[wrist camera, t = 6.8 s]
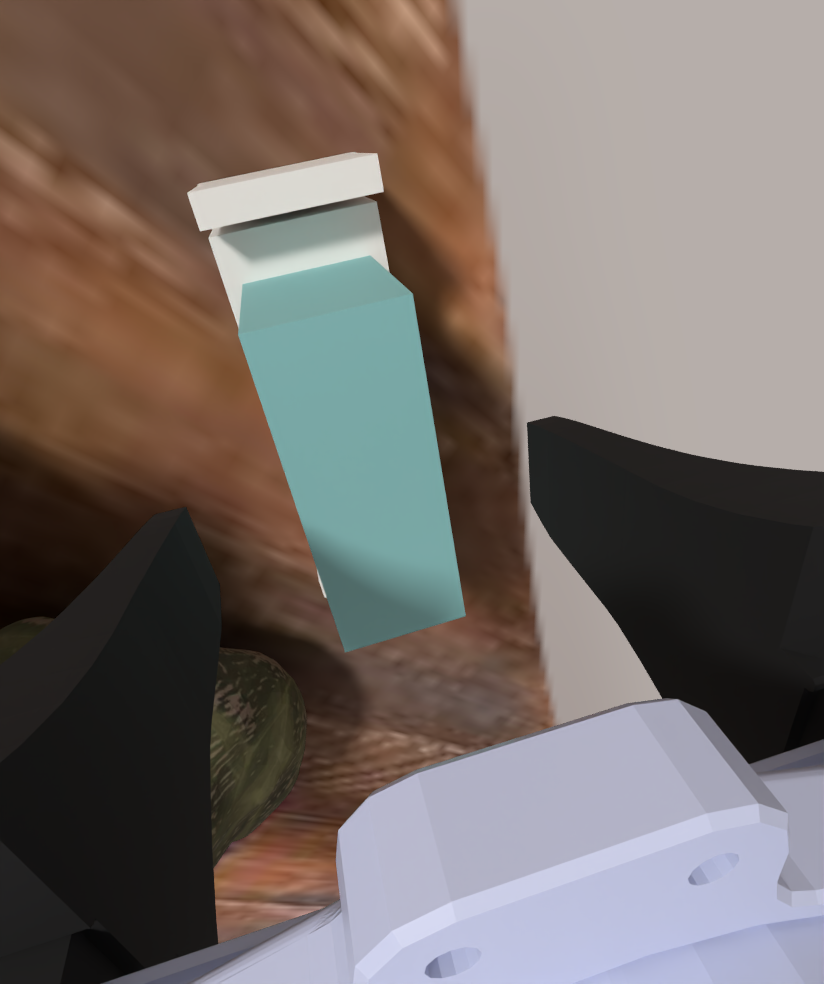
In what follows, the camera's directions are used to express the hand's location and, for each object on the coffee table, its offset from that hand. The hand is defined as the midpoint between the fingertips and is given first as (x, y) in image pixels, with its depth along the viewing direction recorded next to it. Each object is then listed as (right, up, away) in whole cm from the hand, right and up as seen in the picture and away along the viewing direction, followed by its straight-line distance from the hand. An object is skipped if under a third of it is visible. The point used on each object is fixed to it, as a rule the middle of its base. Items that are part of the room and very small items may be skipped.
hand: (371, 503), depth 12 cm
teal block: (-1, +3, +6) cm, 6 cm away
